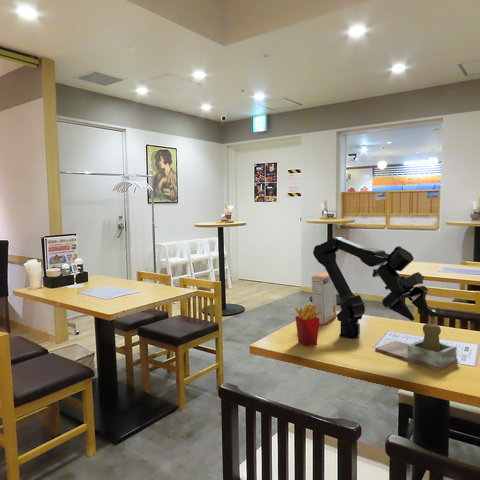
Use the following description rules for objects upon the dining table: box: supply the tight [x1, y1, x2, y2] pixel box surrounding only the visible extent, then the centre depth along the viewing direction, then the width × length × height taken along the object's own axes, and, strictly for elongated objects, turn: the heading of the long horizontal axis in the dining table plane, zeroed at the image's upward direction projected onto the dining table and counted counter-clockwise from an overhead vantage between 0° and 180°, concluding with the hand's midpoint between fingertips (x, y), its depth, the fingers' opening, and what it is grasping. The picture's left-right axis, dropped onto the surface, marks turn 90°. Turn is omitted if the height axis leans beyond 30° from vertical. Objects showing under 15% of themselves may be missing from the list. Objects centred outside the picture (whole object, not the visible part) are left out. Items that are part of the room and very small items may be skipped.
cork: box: [422, 323, 442, 352], centre depth 127 cm, size 6×6×11 cm
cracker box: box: [311, 271, 337, 326], centre depth 175 cm, size 14×6×21 cm, turn 145°
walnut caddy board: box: [374, 338, 459, 372], centre depth 132 cm, size 22×12×5 cm, turn 35°
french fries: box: [294, 303, 322, 347], centre depth 145 cm, size 9×8×15 cm
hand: (421, 317), depth 129 cm, fingers open, 9 cm apart
